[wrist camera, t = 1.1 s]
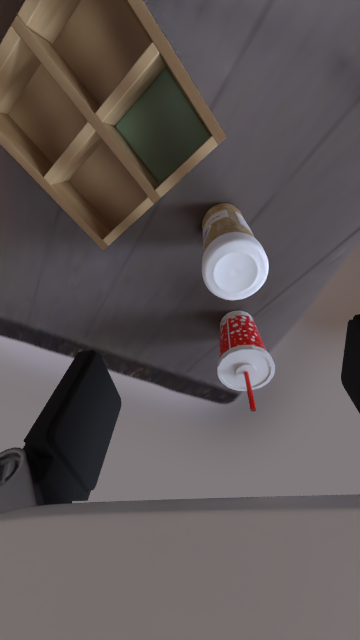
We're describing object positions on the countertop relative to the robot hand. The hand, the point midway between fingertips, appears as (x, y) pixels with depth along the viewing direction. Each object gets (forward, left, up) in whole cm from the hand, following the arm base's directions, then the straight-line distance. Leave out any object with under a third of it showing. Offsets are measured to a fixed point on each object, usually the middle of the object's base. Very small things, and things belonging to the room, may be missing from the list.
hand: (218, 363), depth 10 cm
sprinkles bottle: (-1, +1, -23) cm, 23 cm away
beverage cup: (+5, +13, -23) cm, 27 cm away
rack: (+2, -13, -23) cm, 26 cm away
